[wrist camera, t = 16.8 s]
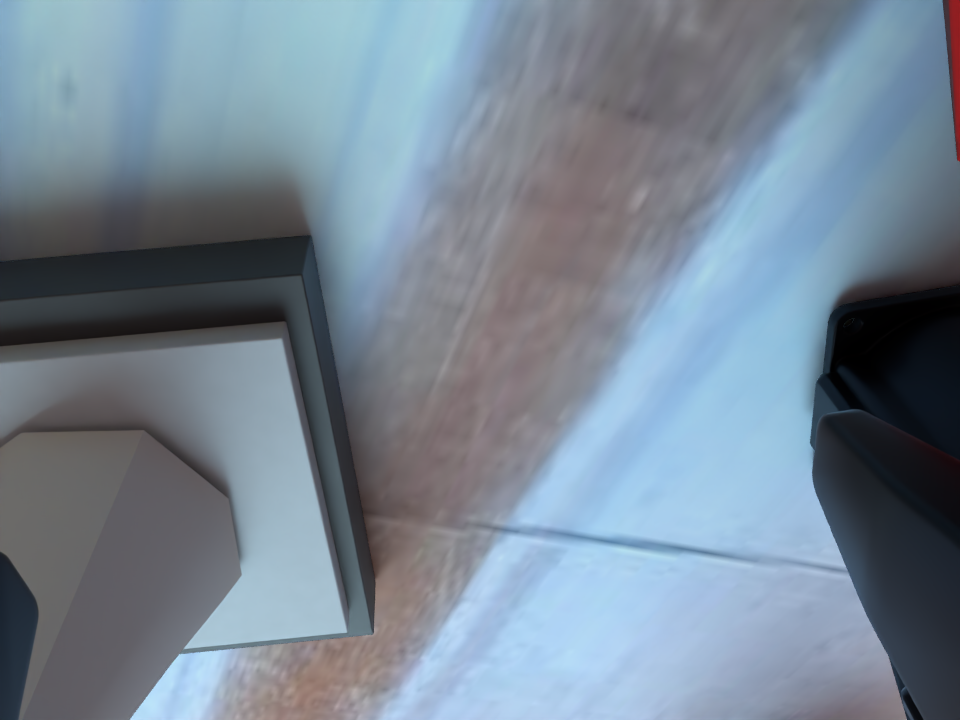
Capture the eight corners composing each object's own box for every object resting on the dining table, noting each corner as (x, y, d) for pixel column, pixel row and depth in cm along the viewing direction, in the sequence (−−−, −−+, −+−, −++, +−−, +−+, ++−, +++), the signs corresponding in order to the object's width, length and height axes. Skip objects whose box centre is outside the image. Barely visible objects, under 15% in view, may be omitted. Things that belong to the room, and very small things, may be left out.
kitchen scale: (311, 234, 21) (298, 290, 19) (375, 582, 28) (373, 656, 26) (-208, 278, 21) (-293, 341, 18) (-9, 620, 28) (-50, 699, 25)
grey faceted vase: (56, 642, 24) (-125, 1071, 16) (-108, 464, 20) (-463, 912, 12) (286, 580, 24) (223, 994, 15) (162, 384, 20) (-14, 798, 11)
